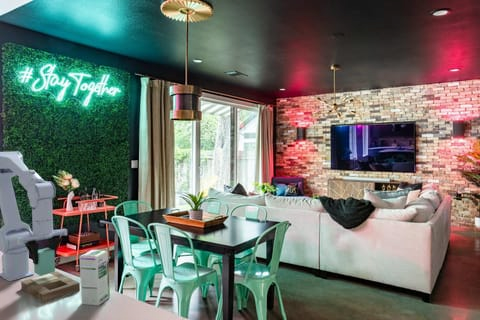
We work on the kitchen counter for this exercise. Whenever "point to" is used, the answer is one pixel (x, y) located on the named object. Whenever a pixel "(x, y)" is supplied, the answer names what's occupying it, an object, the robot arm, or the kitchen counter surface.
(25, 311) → the kitchen counter surface
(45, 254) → the teal block
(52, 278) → the pocket plate
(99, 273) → the syrup box
